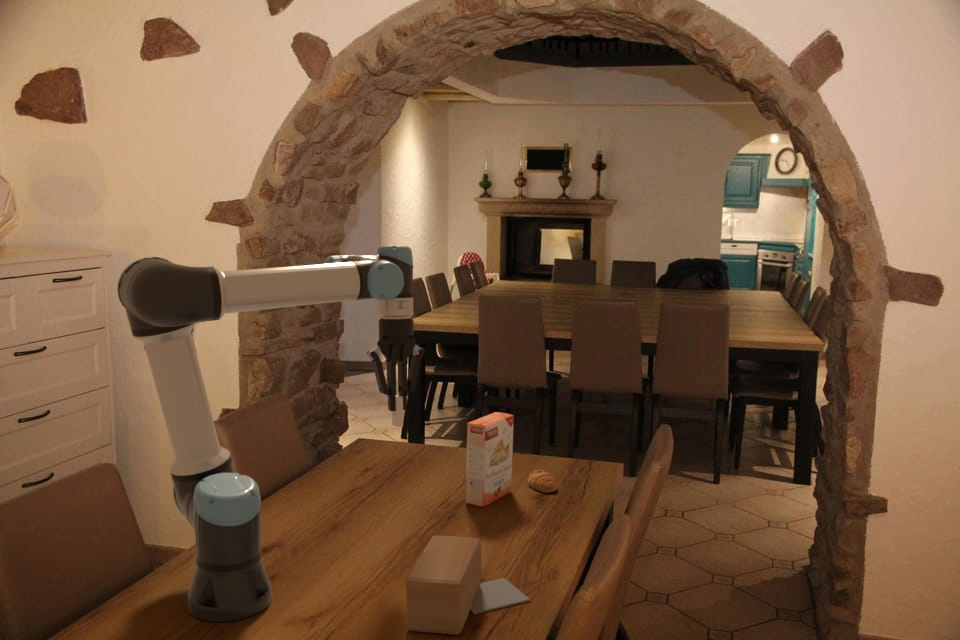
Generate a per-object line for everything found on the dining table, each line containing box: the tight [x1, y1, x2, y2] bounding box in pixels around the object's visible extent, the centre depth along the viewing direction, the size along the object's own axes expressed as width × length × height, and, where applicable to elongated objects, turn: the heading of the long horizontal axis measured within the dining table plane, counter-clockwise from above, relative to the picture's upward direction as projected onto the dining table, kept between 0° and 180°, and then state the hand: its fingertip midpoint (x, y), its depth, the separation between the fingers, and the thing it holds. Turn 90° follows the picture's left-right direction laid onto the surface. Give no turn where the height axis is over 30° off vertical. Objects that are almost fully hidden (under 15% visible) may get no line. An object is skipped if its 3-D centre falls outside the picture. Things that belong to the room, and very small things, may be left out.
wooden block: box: [405, 534, 483, 636], centre depth 158 cm, size 10×10×20 cm
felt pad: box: [469, 577, 531, 615], centre depth 163 cm, size 12×10×1 cm
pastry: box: [527, 469, 559, 494], centre depth 224 cm, size 9×7×4 cm
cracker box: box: [464, 411, 515, 508], centre depth 215 cm, size 14×6×21 cm, turn 148°
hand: (397, 425), depth 185 cm, fingers closed
